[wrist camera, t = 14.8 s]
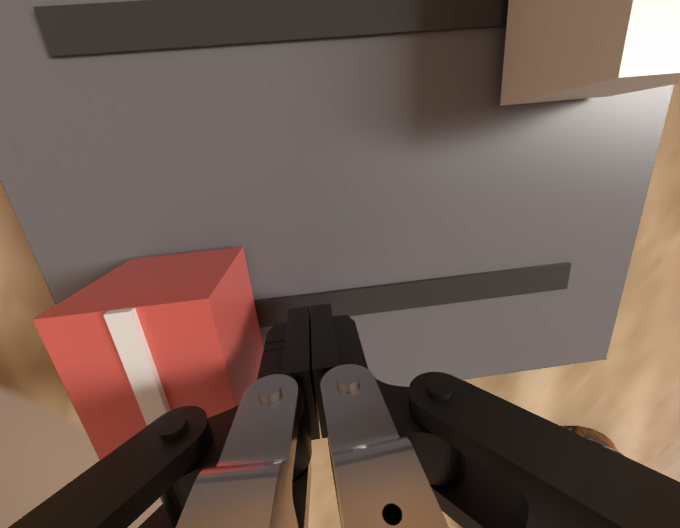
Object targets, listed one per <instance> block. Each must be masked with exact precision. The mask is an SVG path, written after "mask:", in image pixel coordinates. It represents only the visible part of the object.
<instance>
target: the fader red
mask: <svg viewBox="0 0 680 528" xmlns="http://www.w3.org/2000/svg"><path fill="white" fill-rule="evenodd" d="M32 321H33V323H34V325H35V327H36V329H37V331H38V333H39V335H40V338H41V340H42V342H43V344H44V346H45V348H46V350H47V352H48V354H49V356H50V358H51V360H52V362H53V364H54V366H55V368H56V371H57V373H58V375H59V377H60V379H61V381H62V383H63V385H64V387H65V389H66V391H67V393H68V395H69V397H70V399H71V401H72V404H73V406H74V408H75V410H76V412H77V414H78V416H79V418H80V420H81V422H82V424H83V426H84V428H85V430H86V432H87V434H88V436H89V439H90V441H91V443H92V445H93V447H94V449H95V451H96V453H97V455H98V457H99V459H100V460H101V459H103V458H104V457H105V456H107V455H108V454H109V453H111V452H112V451H114V450H115V449H116V448H118V447H119V446H120V445H122V444H123V443H124V442H126V441H127V440H129V439H130V438H131V437H133V436H134V435H135V434H137V433H138V432H139V431H141V430H142V429H144V428H145V427H146V426H148V425H149V424H150V423H152V422H153V421H154V420H156V419H157V418H159V417H160V416H162V415H163V414H165V413H167V412H169V411H171V410H173V409H176V408H179V407H184V406H197V407H200V408H202V409H203V410H204V411H205V412H206V414H207V418H209V417H212V416H214V415H217V414H219V413H222V412H224V411H227V410H229V409H232V408H234V407H235V406H237V405H239V404H240V401H241V398H242V396H243V393H244V392H245V390H246V389H247V388H248V387H249V386H250V385H251V384H252V383H253V382H255V381H256V380H257V377H258V372H259V368H260V363H261V358H262V354H263V349H264V348H263V343H262V338H261V333H260V328H259V323H258V318H257V313H256V308H255V303H254V298H253V293H252V288H251V283H250V278H249V274H248V269H247V264H246V259H245V254H244V249H243V247H234V248H225V249H216V250H207V251H198V252H189V253H180V254H171V255H162V256H152V257H143V258H134V259H130V260H129V261H127V262H125V263H124V264H122V265H121V266H119V267H117V268H116V269H114V270H112V271H111V272H109V273H107V274H106V275H104V276H103V277H101V278H99V279H98V280H96V281H94V282H93V283H91V284H89V285H88V286H86V287H85V288H83V289H81V290H80V291H78V292H76V293H75V294H73V295H72V296H70V297H68V298H67V299H65V300H63V301H62V302H60V303H58V304H57V305H55V306H54V307H52V308H50V309H49V310H47V311H45V312H44V313H42V314H41V315H39V316H37V317H36V318H34V319H32Z"/></svg>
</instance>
